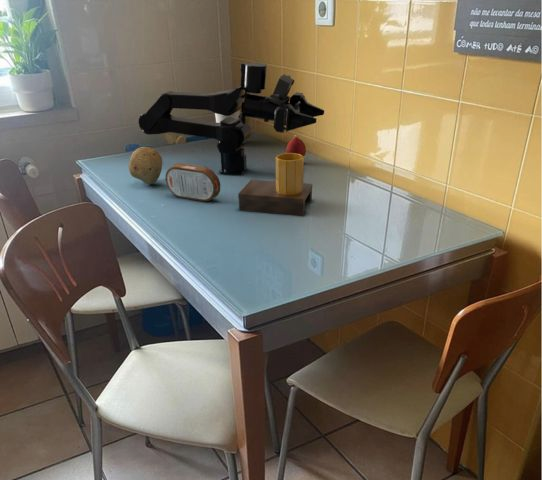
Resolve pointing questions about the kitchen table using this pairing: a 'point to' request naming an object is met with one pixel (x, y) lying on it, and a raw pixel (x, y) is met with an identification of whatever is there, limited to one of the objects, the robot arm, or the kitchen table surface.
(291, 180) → the cup
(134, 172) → the potato
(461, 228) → the kitchen table surface
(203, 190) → the tin
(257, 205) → the brown wooden board
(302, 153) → the onion
